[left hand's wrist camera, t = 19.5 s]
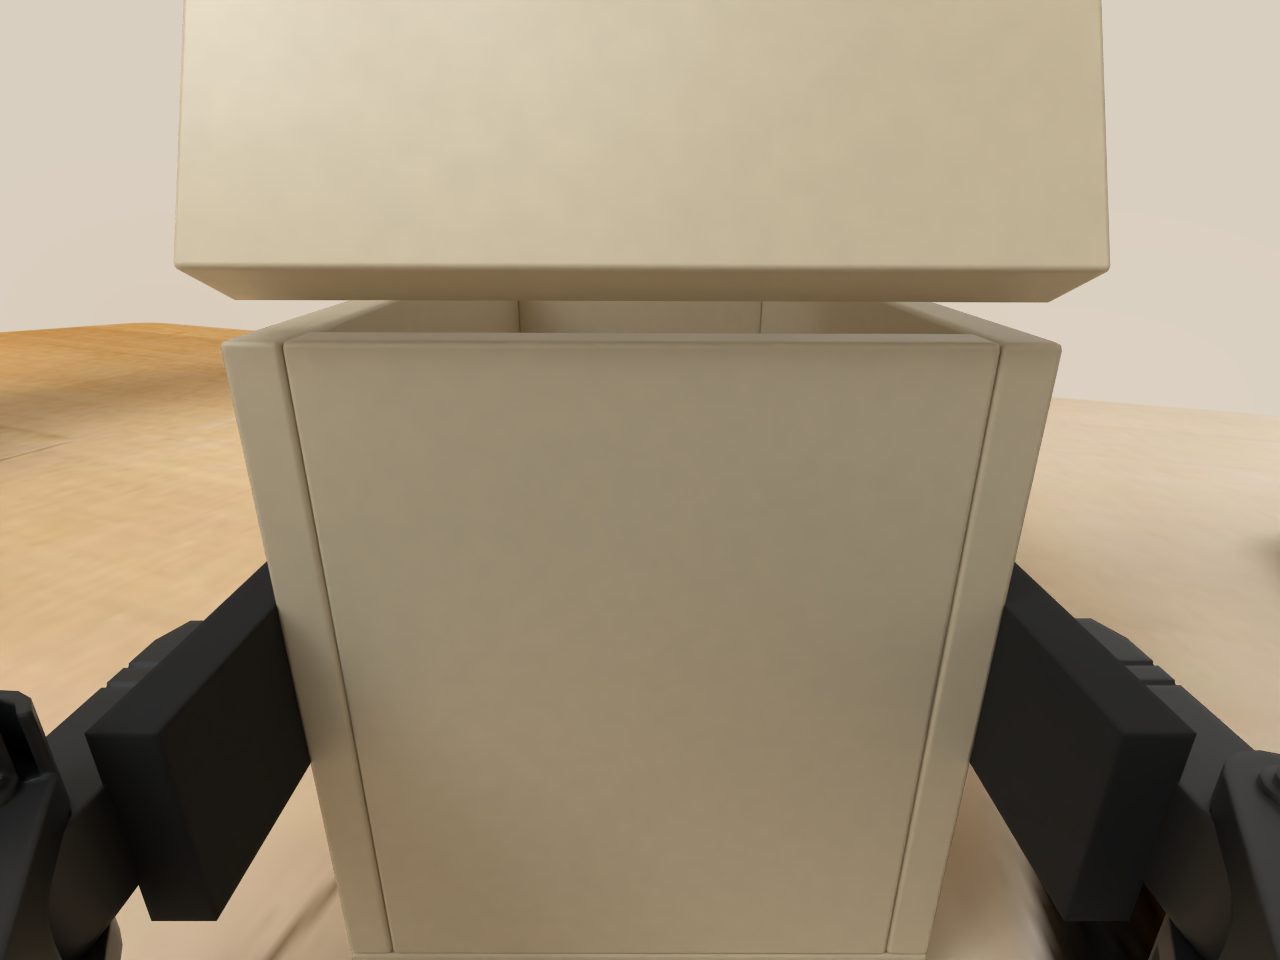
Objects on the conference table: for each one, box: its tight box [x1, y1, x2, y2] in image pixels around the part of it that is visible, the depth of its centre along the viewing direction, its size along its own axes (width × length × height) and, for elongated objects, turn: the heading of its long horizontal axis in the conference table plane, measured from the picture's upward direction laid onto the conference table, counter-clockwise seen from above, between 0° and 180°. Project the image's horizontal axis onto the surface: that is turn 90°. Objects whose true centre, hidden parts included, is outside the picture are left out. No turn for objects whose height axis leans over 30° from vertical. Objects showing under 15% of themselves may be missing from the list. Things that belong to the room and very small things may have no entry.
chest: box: [221, 300, 1062, 960], centre depth 18 cm, size 17×10×11 cm, turn 0°
